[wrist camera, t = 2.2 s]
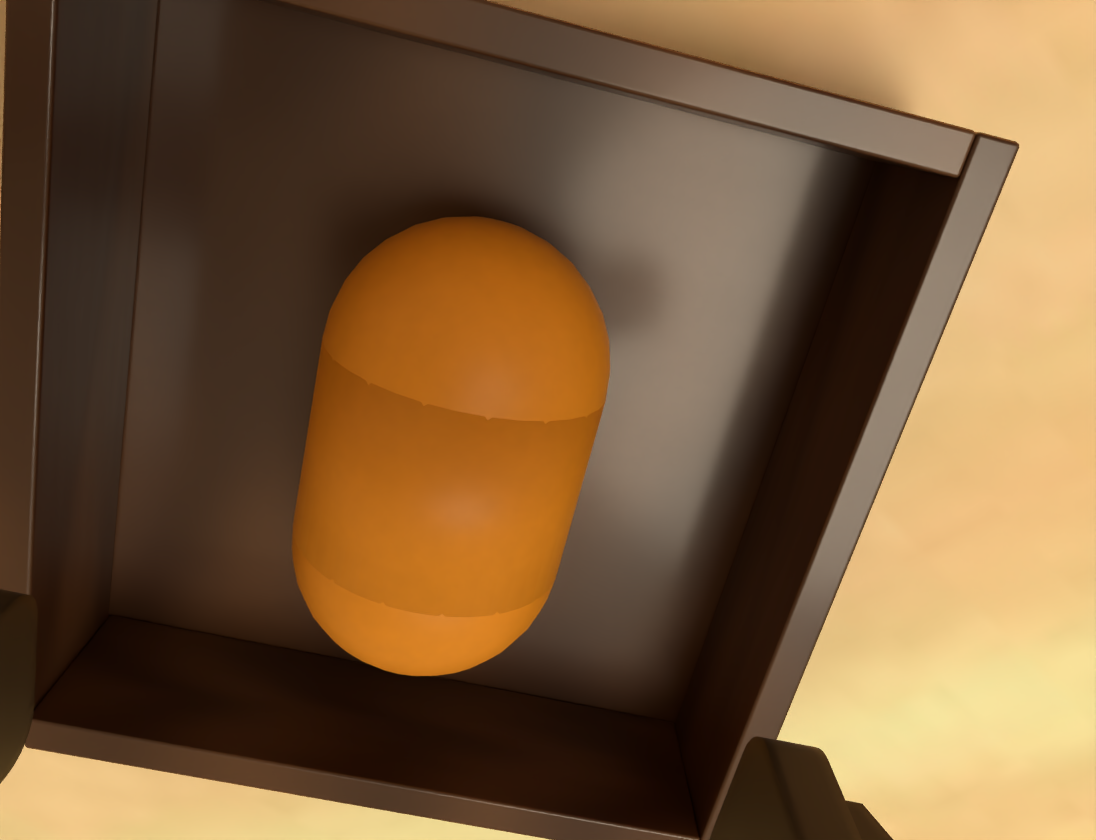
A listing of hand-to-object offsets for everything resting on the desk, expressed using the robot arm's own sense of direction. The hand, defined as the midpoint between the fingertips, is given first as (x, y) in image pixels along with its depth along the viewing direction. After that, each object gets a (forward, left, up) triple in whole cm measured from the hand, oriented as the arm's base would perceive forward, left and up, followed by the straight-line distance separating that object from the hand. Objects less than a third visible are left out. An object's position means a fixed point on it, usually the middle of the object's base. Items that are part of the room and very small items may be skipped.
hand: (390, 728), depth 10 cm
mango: (0, 0, -11) cm, 11 cm away
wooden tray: (0, 0, -12) cm, 12 cm away
